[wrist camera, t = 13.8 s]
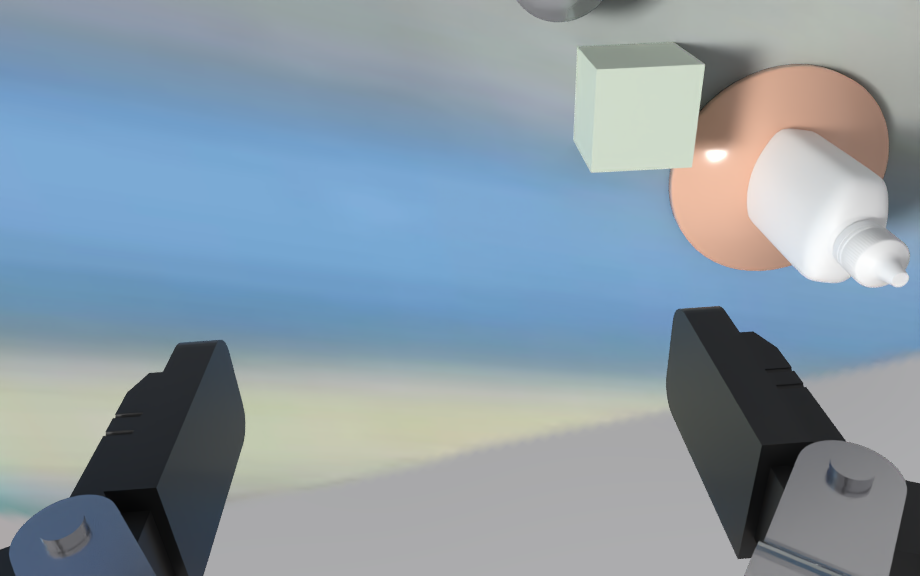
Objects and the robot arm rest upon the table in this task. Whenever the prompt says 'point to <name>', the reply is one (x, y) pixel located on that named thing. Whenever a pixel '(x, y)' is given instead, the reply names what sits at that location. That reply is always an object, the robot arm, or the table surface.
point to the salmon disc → (743, 139)
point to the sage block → (637, 106)
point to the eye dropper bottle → (825, 212)
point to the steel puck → (559, 8)
